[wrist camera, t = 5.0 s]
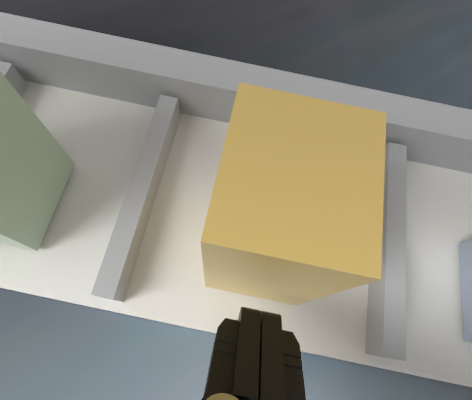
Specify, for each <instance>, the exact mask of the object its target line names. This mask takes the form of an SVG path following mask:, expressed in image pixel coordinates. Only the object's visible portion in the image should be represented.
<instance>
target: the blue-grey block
mask: <svg viewBox="0 0 472 400" xmlns="http://www.w3.org/2000/svg"><path fill="white" fill-rule="evenodd" d="M459 259H460V277H461V296H462V314H463V332H464V341H465V342H470V343H472V239H471V240H468V241H465V242H463V243H460V244H459Z"/></svg>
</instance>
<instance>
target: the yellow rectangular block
mask: <svg viewBox="0 0 472 400" xmlns="http://www.w3.org/2000/svg"><path fill="white" fill-rule="evenodd" d="M385 144H386V113H385V112H380V111H375V110H371V109H366V108H361V107H356V106H351V105H347V104H342V103H337V102H332V101H327V100H322V99H318V98H313V97H308V96H303V95H298V94H294V93H289V92H284V91H279V90H274V89H269V88H265V87H260V86H255V85H250V84H245V83H241V82H239V85H238V89H237V93H236V97H235V101H234V105H233V109H232V113H231V118H230V122H229V126H228V130H227V134H226V138H225V142H224V146H223V150H222V155H221V159H220V163H219V167H218V171H217V175H216V179H215V183H214V188H213V192H212V196H211V200H210V204H209V208H208V212H207V216H206V221H205V225H204V229H203V233H202V237H201V241H200V243H201V252H202V260H203V269H204V278H205V287H210V288H214V289H219V290H224V291H229V292H233V293H238V294H243V295H248V296H252V297H257V298H262V299H266V300H271V301H276V302H281V303H285V304H290V305H298V304H301V303H305V302H308V301H311V300H315V299H318V298H321V297H325V296H328V295H331V294H335V293H338V292H341V291H345V290H348V289H351V288H355V287H358V286H361V285H365V284H368V283H371V282H375V281H378V280H381V264H382V234H383V204H384V174H385Z"/></svg>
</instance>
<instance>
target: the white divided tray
mask: <svg viewBox="0 0 472 400" xmlns="http://www.w3.org/2000/svg"><path fill="white" fill-rule="evenodd" d="M0 71H1V73H2V74H3V75H4V76H5V78H6V79H7V80H8V81H9V83H10V84H11V85H12V86H13V88H14V89H15V90H16V91H17V92H18V94H19V95H20V96H21V97H22V99H23V100H24V101H25V102H26V104H27V105H28V106H29V107H30V109H31V110H32V111H33V112H34V113H35V115H36V116H37V117H38V118H39V120H40V121H41V122H42V123H43V125H44V126H45V127H46V128H47V129H48V131H49V132H50V133H51V134H52V136H53V137H54V138H55V139H56V141H57V142H58V143H59V144H60V146H61V147H62V148H63V149H64V150H65V152H66V153H67V154H68V155H69V157H70V158H71V159H72V160H73V162H74V163H75V165H74V167H73V169H72V172H71V174H70V176H69V179H68V181H67V184H66V186H65V188H64V191H63V193H62V195H61V198H60V200H59V202H58V205H57V207H56V209H55V212H54V214H53V216H52V219H51V221H50V223H49V226H48V228H47V231H46V233H45V235H44V238H43V240H42V242H41V245H40V247H39V249H38V251H34V250H30V249H25V248H20V247H15V246H11V245H6V244H1V243H0V288H4V289H9V290H14V291H18V292H23V293H28V294H33V295H37V296H42V297H47V298H52V299H56V300H61V301H66V302H70V303H75V304H80V305H85V306H89V307H94V308H99V309H103V310H108V311H113V312H118V313H122V314H127V315H132V316H136V317H141V318H146V319H151V320H155V321H160V322H165V323H169V324H174V325H179V326H184V327H188V328H193V329H198V330H203V331H207V332H212V333H217V329H218V326H219V325H220V324H221V323H222V321H223V320H224V319H225V318H228V319H233V320H238V317H239V313H240V309H241V307H246V308H251V309H256V310H260V311H266V312H270V313H275V314H280V315H281V318H282V330H285V331H290V332H293V333H294V335H295V337H296V339H297V341H298V342H299V344H300V351H302V352H306V353H311V354H316V355H321V356H325V357H330V358H335V359H339V360H344V361H349V362H354V363H358V364H363V365H368V366H372V367H377V368H382V369H387V370H391V371H396V372H401V373H405V374H410V375H415V376H420V377H424V378H429V379H434V380H438V381H443V382H448V383H453V384H457V385H462V386H467V387H472V343H470V342H465V341H464V332H463V314H462V296H461V277H460V259H459V244H460V243H463V242H465V241H468V240H471V239H472V110H470V109H465V108H460V107H455V106H451V105H446V104H441V103H436V102H431V101H426V100H422V99H417V98H412V97H407V96H402V95H397V94H393V93H388V92H383V91H378V90H373V89H369V88H364V87H359V86H354V85H349V84H344V83H340V82H335V81H330V80H325V79H320V78H315V77H311V76H306V75H301V74H296V73H291V72H286V71H282V70H277V69H272V68H267V67H262V66H258V65H253V64H248V63H243V62H238V61H233V60H229V59H224V58H219V57H214V56H209V55H204V54H200V53H195V52H190V51H185V50H180V49H176V48H171V47H166V46H161V45H156V44H151V43H147V42H142V41H137V40H132V39H127V38H122V37H118V36H113V35H108V34H103V33H98V32H93V31H89V30H84V29H79V28H74V27H69V26H65V25H60V24H55V23H50V22H45V21H40V20H36V19H31V18H26V17H21V16H16V15H11V14H7V13H2V12H0ZM239 82H241V83H245V84H250V85H255V86H260V87H265V88H269V89H274V90H279V91H284V92H289V93H294V94H298V95H303V96H308V97H313V98H318V99H322V100H327V101H332V102H337V103H342V104H347V105H351V106H356V107H361V108H366V109H371V110H375V111H380V112H385V113H386V144H385V174H384V204H383V234H382V264H381V280H378V281H375V282H371V283H368V284H365V285H361V286H358V287H355V288H351V289H348V290H345V291H341V292H338V293H335V294H331V295H328V296H325V297H321V298H318V299H315V300H311V301H308V302H305V303H301V304H298V305H290V304H285V303H281V302H276V301H271V300H266V299H262V298H257V297H252V296H248V295H243V294H238V293H233V292H229V291H224V290H219V289H214V288H210V287H205V278H204V269H203V260H202V252H201V243H200V241H201V237H202V233H203V229H204V225H205V221H206V216H207V212H208V208H209V204H210V200H211V196H212V192H213V188H214V183H215V179H216V175H217V171H218V167H219V163H220V159H221V155H222V150H223V146H224V142H225V138H226V134H227V130H228V126H229V122H230V118H231V113H232V109H233V105H234V101H235V97H236V93H237V89H238V85H239Z"/></svg>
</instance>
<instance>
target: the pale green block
mask: <svg viewBox="0 0 472 400" xmlns="http://www.w3.org/2000/svg"><path fill="white" fill-rule="evenodd" d="M74 165H75V163H74V162H73V160H72V159H71V158H70V157H69V155H68V154H67V153H66V152H65V150H64V149H63V148H62V147H61V146H60V144H59V143H58V142H57V141H56V139H55V138H54V137H53V136H52V134H51V133H50V132H49V131H48V129H47V128H46V127H45V126H44V125H43V123H42V122H41V121H40V120H39V118H38V117H37V116H36V115H35V113H34V112H33V111H32V110H31V109H30V107H29V106H28V105H27V104H26V102H25V101H24V100H23V99H22V97H21V96H20V95H19V94H18V92H17V91H16V90H15V89H14V88H13V86H12V85H11V84H10V83H9V81H8V80H7V79H6V78H5V76H4V75H3V74H2V73H1V71H0V243H1V244H6V245H11V246H15V247H20V248H25V249H30V250H34V251H38V249H39V247H40V245H41V242H42V240H43V238H44V235H45V233H46V231H47V228H48V226H49V223H50V221H51V219H52V216H53V214H54V212H55V209H56V207H57V205H58V202H59V200H60V198H61V195H62V193H63V191H64V188H65V186H66V184H67V181H68V179H69V176H70V174H71V172H72V169H73V167H74Z"/></svg>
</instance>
